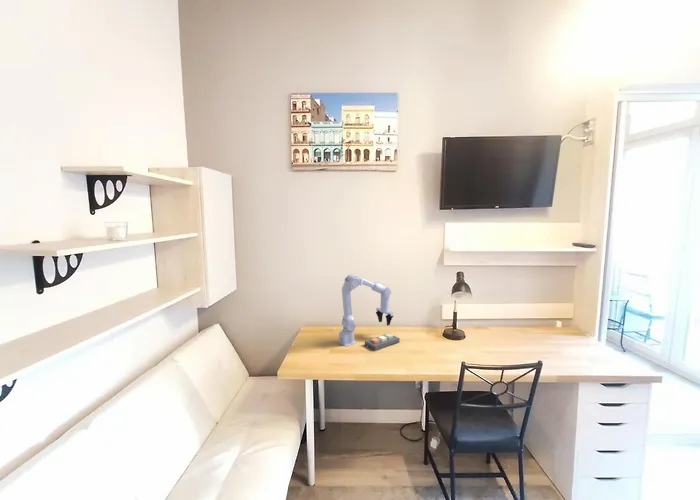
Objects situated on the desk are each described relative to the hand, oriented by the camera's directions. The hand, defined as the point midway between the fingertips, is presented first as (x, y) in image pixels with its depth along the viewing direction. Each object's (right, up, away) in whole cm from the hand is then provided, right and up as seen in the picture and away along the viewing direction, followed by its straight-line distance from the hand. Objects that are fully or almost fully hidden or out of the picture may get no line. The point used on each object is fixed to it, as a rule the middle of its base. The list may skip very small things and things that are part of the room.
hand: (384, 323), depth 224 cm
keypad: (-2, -11, -11) cm, 15 cm away
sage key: (+2, -8, -8) cm, 11 cm away
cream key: (-2, -8, -11) cm, 14 cm away
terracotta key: (-7, -9, -15) cm, 19 cm away
